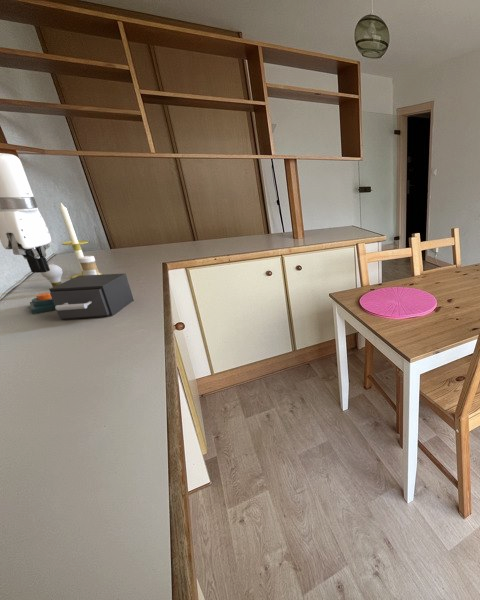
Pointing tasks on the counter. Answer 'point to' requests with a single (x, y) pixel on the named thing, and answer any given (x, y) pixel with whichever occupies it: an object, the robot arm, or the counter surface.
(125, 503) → the counter surface
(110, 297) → the dark grey drawer box
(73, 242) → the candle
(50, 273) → the light bulb
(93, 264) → the sprinkles bottle
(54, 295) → the dark grey drawer
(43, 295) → the button
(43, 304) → the block
